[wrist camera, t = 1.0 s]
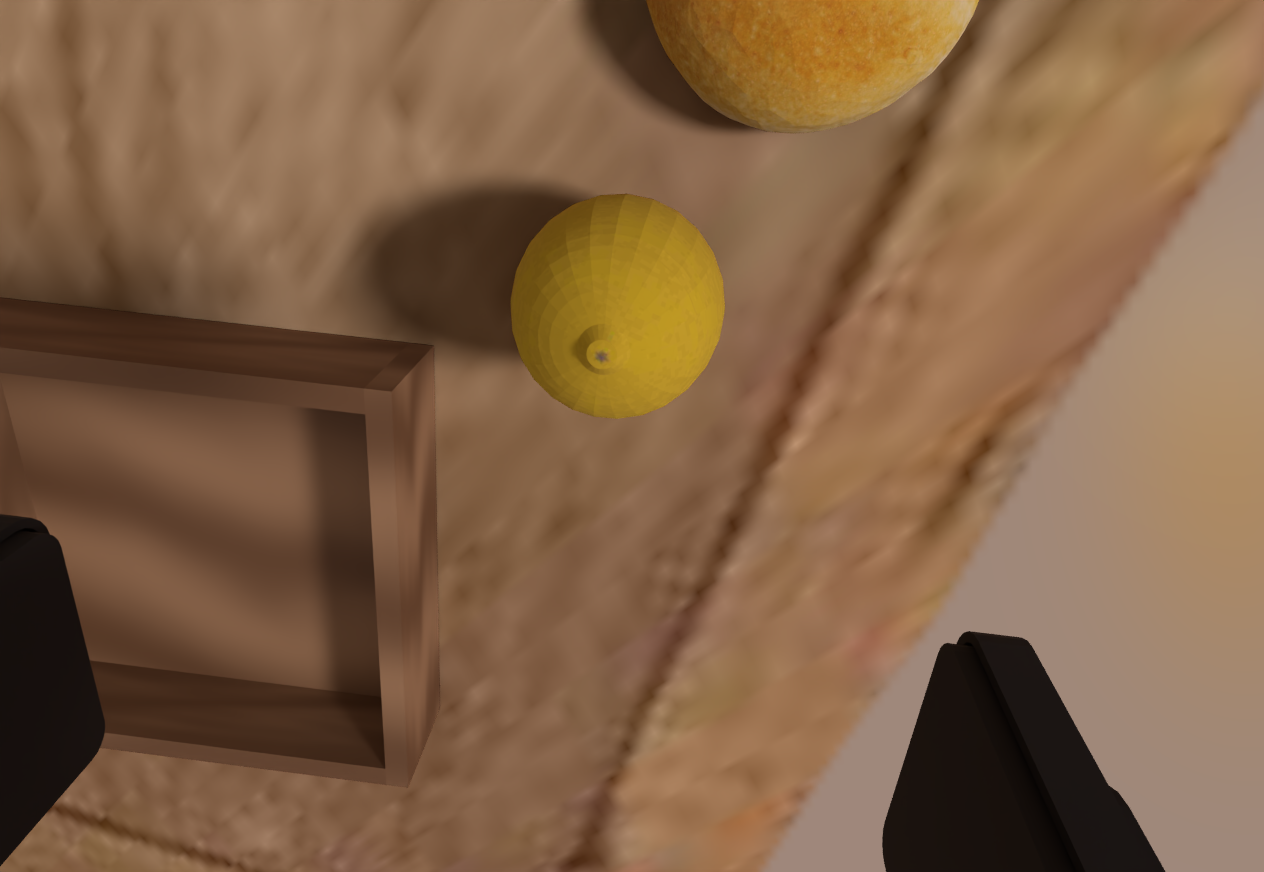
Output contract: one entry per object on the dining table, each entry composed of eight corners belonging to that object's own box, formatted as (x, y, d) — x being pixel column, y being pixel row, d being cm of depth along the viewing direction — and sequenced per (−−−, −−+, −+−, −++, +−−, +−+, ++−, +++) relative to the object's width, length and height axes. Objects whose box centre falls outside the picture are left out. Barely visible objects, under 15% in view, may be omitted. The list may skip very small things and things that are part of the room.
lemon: (512, 301, 26) (438, 397, 19) (593, 138, 24) (544, 176, 16) (664, 384, 27) (650, 507, 19) (756, 234, 24) (779, 311, 17)
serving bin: (-29, 294, 27) (-141, 331, 24) (433, 345, 27) (391, 391, 23) (68, 661, 34) (-7, 733, 30) (439, 708, 33) (408, 787, 30)
